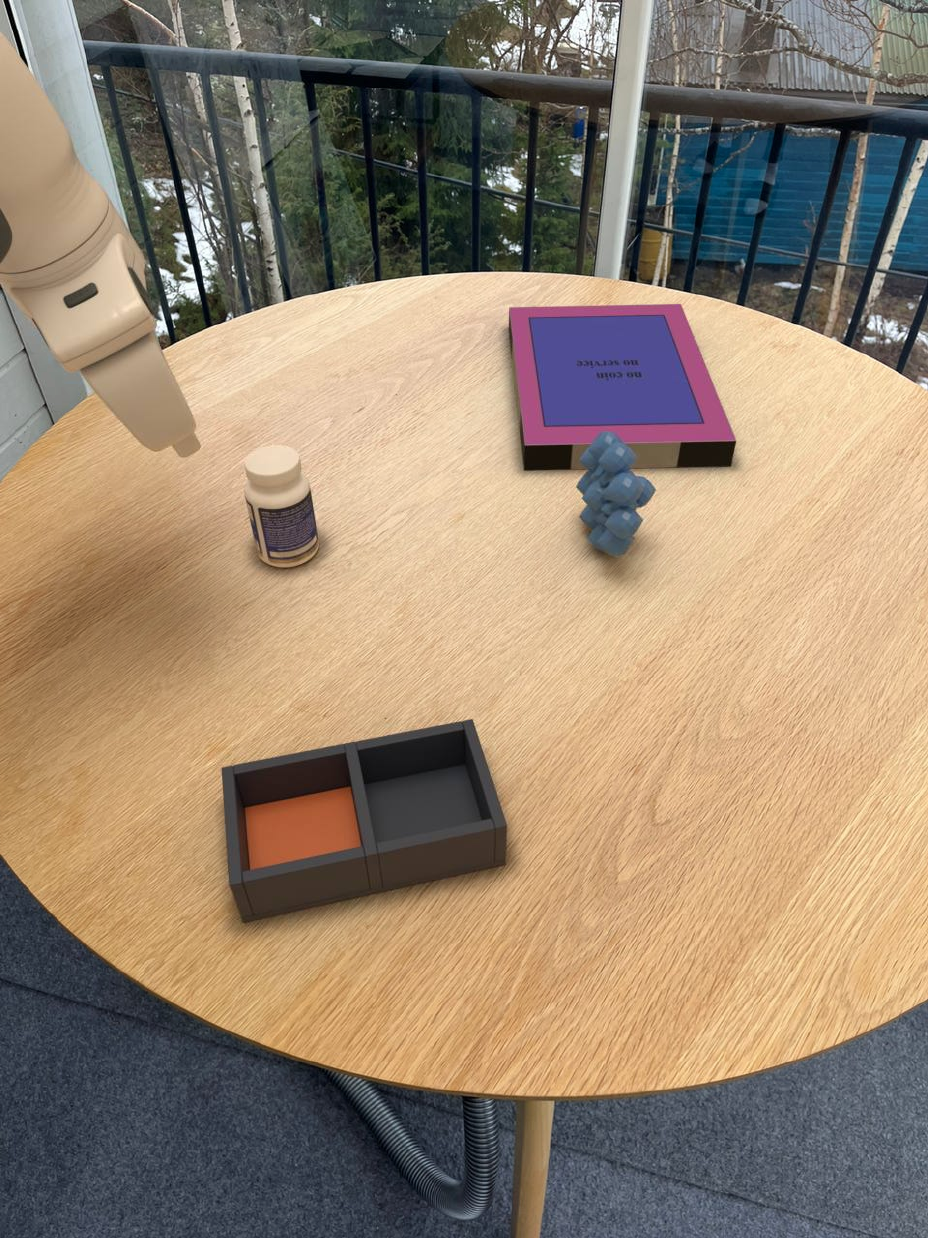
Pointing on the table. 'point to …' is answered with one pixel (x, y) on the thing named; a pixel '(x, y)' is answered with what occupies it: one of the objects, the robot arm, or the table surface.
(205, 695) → the table surface
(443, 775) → the tray
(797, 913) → the table surface
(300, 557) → the pill bottle
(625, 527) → the grapes
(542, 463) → the book
